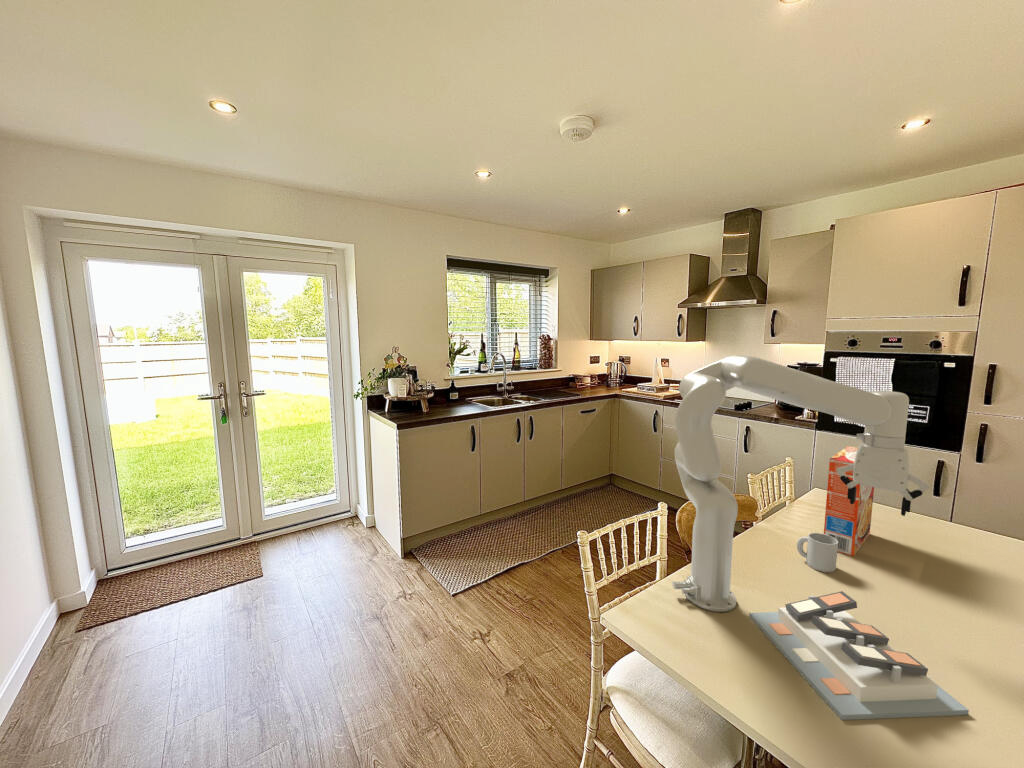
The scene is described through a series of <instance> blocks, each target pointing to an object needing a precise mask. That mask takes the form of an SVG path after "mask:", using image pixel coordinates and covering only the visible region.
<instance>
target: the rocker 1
mask: <svg viewBox="0 0 1024 768" xmlns="http://www.w3.org/2000/svg"><path fill="white" fill-rule="evenodd" d="M785 607H786V610H787V611H788V612H789V613H790V614H791V615H792V616H793V617H794V618H795V619H796V620H797V621H802V620H806V619H811V618H812V616H819V617H820V616H824V615H826V610H832V611H833V612H834V613H837V612H841V611H846V612H847V611H849V610H853V609H854V610H855V609H857V608H858V604H857V601H856V600H855V599H853V598H852V597H851V596H850V595H848V594H847V593H845V592H844V591H842V590H841V591H837V592H833V593H830V594H824V595H821V596H820V595H819V596H815V598H811V599H809V598H807V599H802V600H798V601H793V602H790V603H785Z"/></svg>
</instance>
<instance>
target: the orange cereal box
mask: <svg viewBox="0 0 1024 768" xmlns="http://www.w3.org/2000/svg"><path fill="white" fill-rule="evenodd" d="M857 449H858V446H857V447H856V446H850V445H847V446H846V447H844V448H843V449H842V450H840V451H839V452H837V453H836V454H834V455H833V456H831V457H830V458H829V464H828V476H827V489H826V501H825V514H824V515H825V516H824V524H823V525H824V526H823V527H824V528H823V534H826V535H829V536H831V537H833V538H835V539H836V540H837V541H838V549H837V551H839V552H838V553H840V554H844V555H848V556H850V555H851V556H850V557H853V556H854V557H855V556H856V554H857V553H856V552H858V551H859V550H860V548H861V547H862V546H863V544H864V543H865V541H866V540H867V539H868V537H869V536H870V534H871V526H872V525H871V523H872V513H873V503H874V502H873V501H874V492H875V487H871V486H866V485H861V484H857V485H856V487H857V489H856V500H855V502H854V504H850V499H847V496H848V487H847V485H846V484H845V483H844V482H843V481H842V480H841V479H840V476H839V475H838V473H837V471H836V469H837V468H838V467H843V466H848V465H852V464H854V463H855V457H856V453H857ZM845 475H846V476H847V477H848V478H849V479H850V480H853V470H852V471H847V472H845ZM869 533H870V534H869ZM868 535H869V536H868ZM867 536H868V537H867ZM866 538H867V539H866ZM865 539H866V540H865ZM864 540H865V541H864ZM863 542H864V543H863ZM862 543H863V544H862ZM861 545H862V546H861ZM860 546H861V547H860ZM858 549H859V550H858Z"/></svg>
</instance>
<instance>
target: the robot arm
mask: <svg viewBox="0 0 1024 768" xmlns="http://www.w3.org/2000/svg"><path fill="white" fill-rule="evenodd" d="M733 388H739V389H740V390H741V389H742V390H745V391H748V392H750V393H754V394H757V395H759V396H763V397H767V398H770V399H773V400H776V401H778V402H783V403H785V404H789V405H792V406H796V407H799V408H802V409H808V410H813V411H817V412H820V413H824V414H828V415H831V416H833V417H836V418H839V419H842V420H845V421H848V422H852V423H856V424H858V425H863V426H864V431H863V433H856V436H855V438H856V439H858V440H860V441H862V443H861V442H860V443H859V445H858V446H857V448H858V449H857V453H856V457H855V463H854V464H852V465H848V466H843V467H838V468H837V469H836V471H837V473H838V475H839V476H840V479H841V480H842V481H843V482H844V483H845V484H846V485H847V487H848V496H847V499H850V504H854V502H855V500H856V489H857V487H856V485H857V484H861V485H866V486H871V487H874V488H875V489H882V490H887V491H891V492H899V493H900V494H901V495H902V496H903V497H902V500H901V501H902V502H901V511H900V515H901V516H902V517H903V516H904V517H905V516H906V513H908V514H909V513H910V512H911V503H912V500H914V499H916V498H918V497H922V496H923V495H924V494H925V492H926V491H927V490H928V489H929V488H930V484H929V483H928V482H926V481H924V480H922V479H921V478H919V477H917V476H915V475H913V474H912V473H910V456H909V451H908V449H907V448H905V446H906V445H905V444H906V443H905V442H906V434H907V424H908V416H909V406H910V405H909V404H910V398H909V396H908V394H906V393H904V392H900V391H893V390H890V391H889V390H888V391H887V390H875V391H867V390H864V389H860V388H857V387H853V386H851V385H847V384H843V383H840V382H837V381H833V380H831V379H827V378H824V377H821V376H819V375H814V374H812V373H809V372H805V371H802V370H799V369H795V368H791V367H788V366H786V365H782V364H778V363H775V362H772V361H769V360H766V359H763V358H760V357H756V356H751V355H741V354H736V355H735V354H734V355H731V356H727V357H725V358H723V359H722V358H721V359H720V360H717V361H716V362H713V363H710V364H708V365H705V366H704V367H702V368H698V369H697V370H694V371H692V372H689V373H688V374H686V375H685V376H683V378H682V379H681V381H680V382H679V384H678V390H679V394H680V396H681V398H682V399H681V401H680V403H679V405H678V407H677V410H676V412H675V416H674V425H675V426H674V427H675V431H676V436H677V440H678V442H677V443H676V446H675V448H674V452H673V453H674V461H675V464H676V468H677V471H678V476H679V477H680V481H681V484H682V488H683V491H684V493H685V495H686V497H687V498H688V500H689V501H690V502H691V504H692V505H693V506H694V508H695V512H696V513H695V518H694V521H693V527H692V538H691V539H692V542H691V544H692V546H691V565H690V567H691V568H690V575H686V579H684V580H683V581H680V580H679V581H678V580H675V581H672V588H673V589H674V590H680V591H681V593H682V594H683V595H685V597H686V598H687V599H688V600H689V601H690V602H691V603H692V604H694V605H695V606H697V607H699V608H702V609H703V610H708V611H711V612H717V613H720V612H721V613H723V612H724V613H725V612H729V611H732V610H734V608H735V607H736V605H737V597H736V595H735V594H734V593H733V591H732V590H731V579H732V562H733V560H732V559H733V544H734V543H733V541H734V530H735V524H736V520H737V518H738V511H739V508H738V507H739V506H738V502H737V499H736V497H735V495H734V494H733V492H732V491H731V490H730V489H729V488H728V487H727V486H726V485H725V484H724V483H722V482H721V481H719V479H718V478H719V476H720V475H721V473H722V469H723V462H722V458H721V454H720V453H719V449H718V446H717V441H716V439H715V436H714V431H713V425H712V420H713V417H714V415H715V413H716V411H717V410H718V409H719V407H720V406H722V404H723V403H724V401H725V399H726V395H727V391H729V390H731V389H733ZM852 470H853V480H850V479H849V478H848V477H847V476H846V475H845V472H847V471H852ZM909 482H911V483H913V484H915V485H917V486H918V488H916V489H915V490H912V491H911V490H910V489H909V487H908V486H909Z"/></svg>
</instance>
